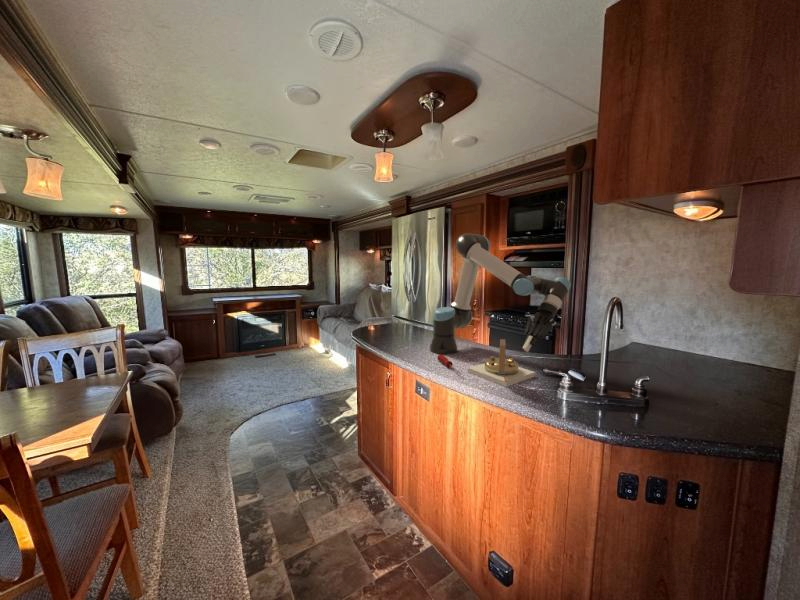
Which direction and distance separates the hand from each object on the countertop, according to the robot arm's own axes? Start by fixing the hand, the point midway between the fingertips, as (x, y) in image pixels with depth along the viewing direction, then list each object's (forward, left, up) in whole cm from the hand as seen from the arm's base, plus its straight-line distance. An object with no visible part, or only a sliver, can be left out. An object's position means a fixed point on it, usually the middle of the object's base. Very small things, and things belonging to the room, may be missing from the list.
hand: (525, 349), depth 134 cm
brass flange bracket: (-5, -9, -10) cm, 14 cm away
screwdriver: (-26, -19, -12) cm, 34 cm away
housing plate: (-8, -5, -12) cm, 15 cm away
